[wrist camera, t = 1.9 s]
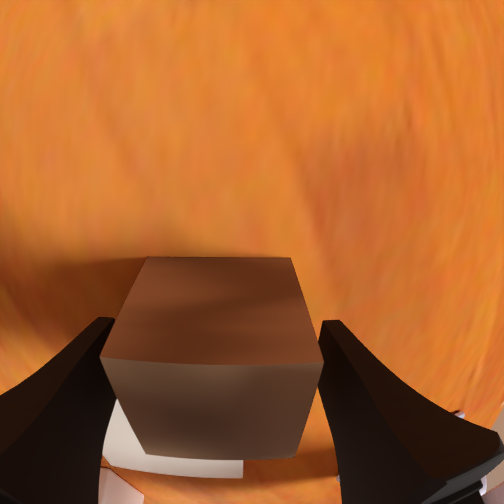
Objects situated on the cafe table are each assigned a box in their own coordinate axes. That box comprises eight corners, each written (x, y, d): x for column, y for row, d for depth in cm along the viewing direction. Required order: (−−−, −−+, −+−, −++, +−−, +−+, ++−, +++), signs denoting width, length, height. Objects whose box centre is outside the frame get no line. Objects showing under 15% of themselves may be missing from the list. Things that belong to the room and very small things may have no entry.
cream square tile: (243, 394, 14) (244, 407, 13) (242, 469, 18) (242, 478, 18) (62, 377, 13) (57, 387, 13) (113, 457, 18) (111, 465, 17)
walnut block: (290, 256, 11) (324, 361, 6) (278, 357, 13) (294, 457, 9) (148, 255, 10) (99, 356, 6) (165, 356, 13) (145, 454, 8)
